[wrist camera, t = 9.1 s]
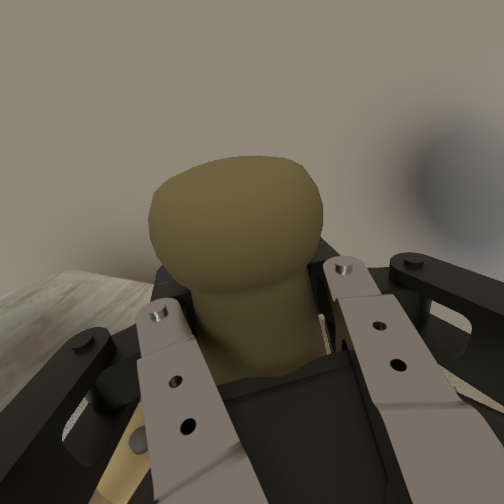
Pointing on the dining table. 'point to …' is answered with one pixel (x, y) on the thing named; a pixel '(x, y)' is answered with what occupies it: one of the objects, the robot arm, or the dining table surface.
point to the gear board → (126, 464)
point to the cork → (244, 261)
